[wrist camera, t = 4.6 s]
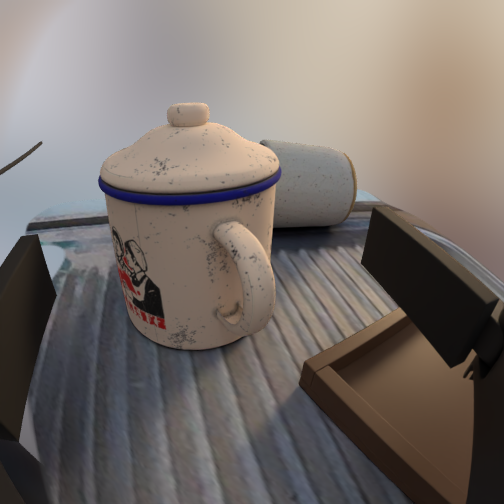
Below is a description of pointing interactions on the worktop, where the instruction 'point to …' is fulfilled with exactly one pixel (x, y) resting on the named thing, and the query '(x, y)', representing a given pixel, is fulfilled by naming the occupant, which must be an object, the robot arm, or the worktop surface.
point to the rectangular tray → (400, 406)
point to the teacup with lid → (193, 230)
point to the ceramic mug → (312, 185)
